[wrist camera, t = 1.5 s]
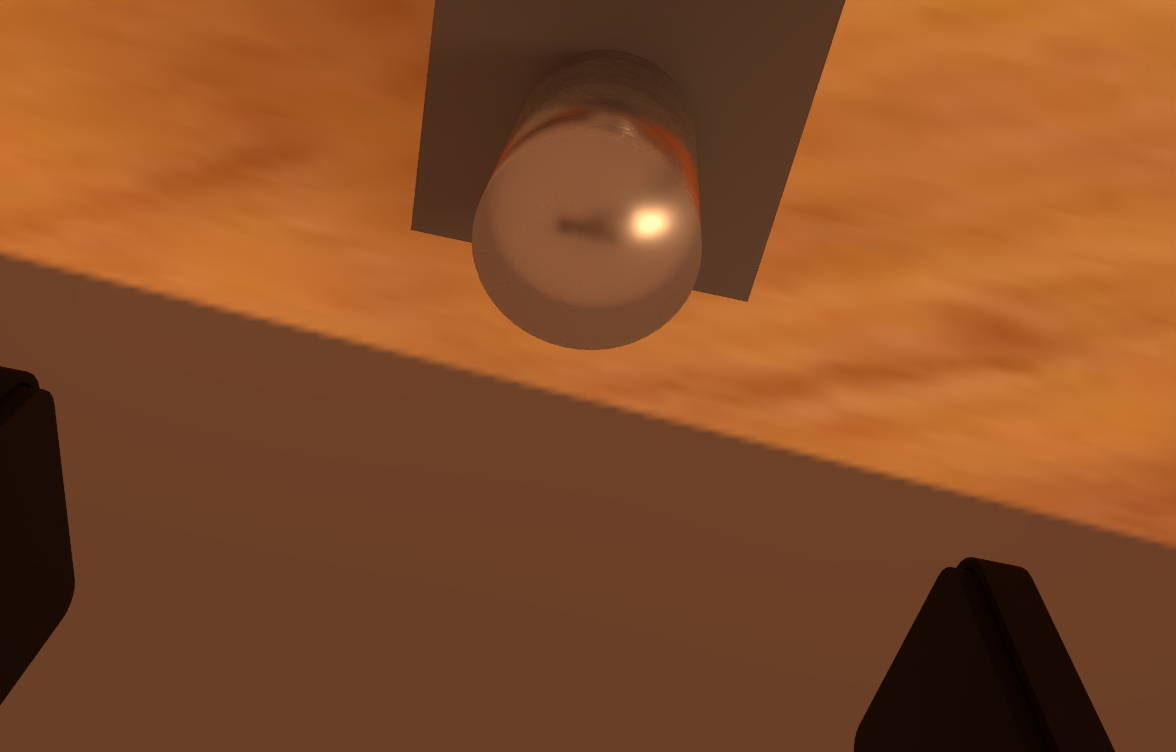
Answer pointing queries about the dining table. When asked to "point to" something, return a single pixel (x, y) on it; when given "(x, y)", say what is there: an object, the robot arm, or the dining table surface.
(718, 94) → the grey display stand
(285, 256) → the dining table surface
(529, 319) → the cylinder
